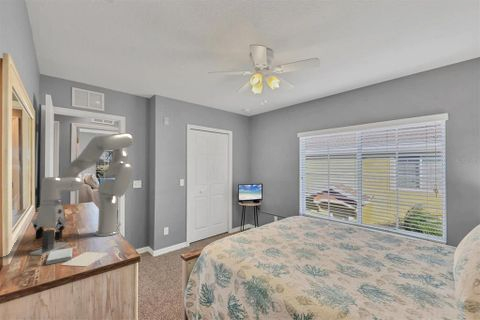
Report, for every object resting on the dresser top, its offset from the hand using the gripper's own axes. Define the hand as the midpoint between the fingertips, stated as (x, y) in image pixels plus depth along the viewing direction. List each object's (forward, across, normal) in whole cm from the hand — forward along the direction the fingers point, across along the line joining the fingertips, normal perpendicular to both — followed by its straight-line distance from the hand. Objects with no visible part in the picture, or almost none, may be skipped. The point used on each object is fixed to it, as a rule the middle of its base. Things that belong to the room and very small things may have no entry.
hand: (48, 239), depth 104 cm
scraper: (+5, -1, 0) cm, 5 cm away
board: (+5, -26, +8) cm, 27 cm away
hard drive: (+5, -14, +8) cm, 16 cm away
